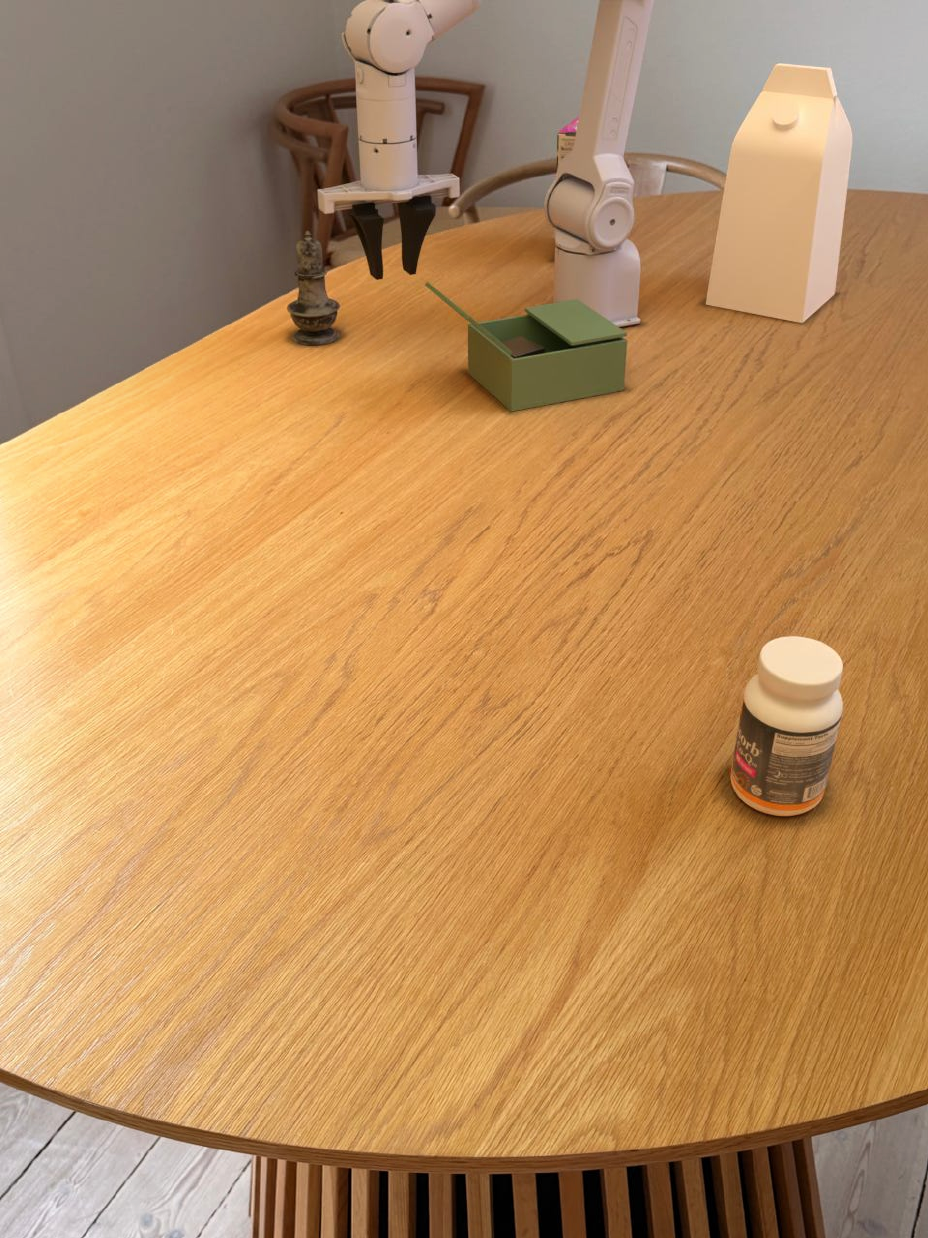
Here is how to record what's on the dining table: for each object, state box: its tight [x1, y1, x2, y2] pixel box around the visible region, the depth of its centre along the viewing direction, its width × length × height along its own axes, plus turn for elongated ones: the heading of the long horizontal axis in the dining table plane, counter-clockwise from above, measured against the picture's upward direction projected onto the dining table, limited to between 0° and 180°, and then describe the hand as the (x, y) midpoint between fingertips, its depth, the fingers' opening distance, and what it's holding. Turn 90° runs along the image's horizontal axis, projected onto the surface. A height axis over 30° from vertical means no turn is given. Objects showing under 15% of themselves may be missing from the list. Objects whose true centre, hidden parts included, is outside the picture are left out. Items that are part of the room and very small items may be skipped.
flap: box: [424, 281, 512, 355], centre depth 119 cm, size 6×11×1 cm
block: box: [501, 336, 545, 359], centre depth 124 cm, size 4×4×4 cm
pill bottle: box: [730, 635, 844, 817], centre depth 72 cm, size 6×6×10 cm
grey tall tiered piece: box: [286, 230, 341, 347], centre depth 134 cm, size 6×6×12 cm
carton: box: [467, 299, 628, 412], centre depth 125 cm, size 13×11×6 cm
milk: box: [705, 62, 854, 324], centre depth 139 cm, size 12×12×26 cm
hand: (393, 274), depth 127 cm, fingers open, 3 cm apart
